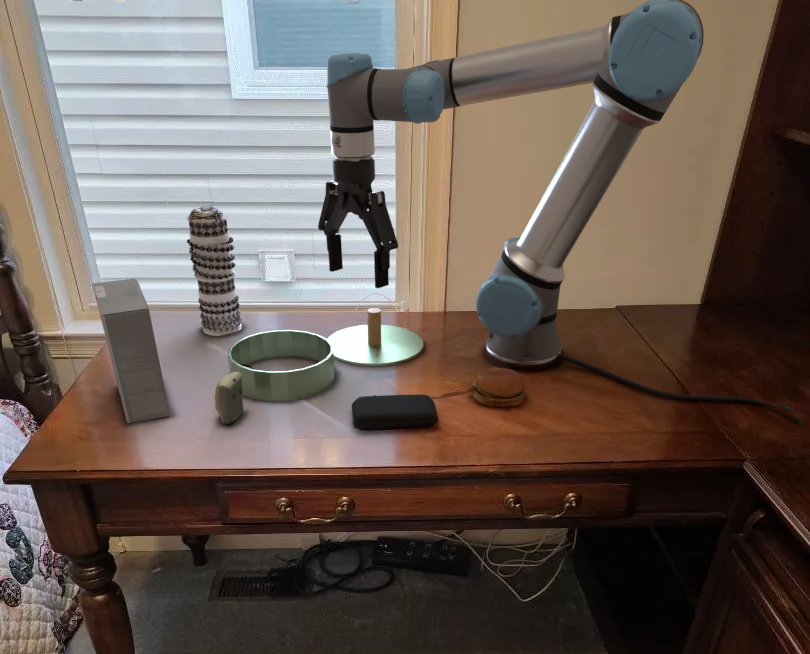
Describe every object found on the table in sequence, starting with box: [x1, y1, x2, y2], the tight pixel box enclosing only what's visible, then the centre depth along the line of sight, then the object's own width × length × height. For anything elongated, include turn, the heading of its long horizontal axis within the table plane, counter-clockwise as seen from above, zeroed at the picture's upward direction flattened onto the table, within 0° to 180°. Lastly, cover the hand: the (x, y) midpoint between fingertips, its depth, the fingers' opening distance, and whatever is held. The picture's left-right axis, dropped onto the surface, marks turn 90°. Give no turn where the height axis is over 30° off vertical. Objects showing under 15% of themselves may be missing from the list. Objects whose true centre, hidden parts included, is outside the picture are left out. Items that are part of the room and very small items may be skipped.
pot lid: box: [327, 307, 424, 367], centre depth 155 cm, size 20×20×8 cm
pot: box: [227, 329, 336, 403], centre depth 144 cm, size 20×20×6 cm
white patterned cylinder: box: [186, 205, 243, 337], centre depth 158 cm, size 9×9×25 cm
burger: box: [472, 367, 526, 408], centre depth 138 cm, size 10×9×5 cm
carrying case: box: [351, 393, 439, 432], centre depth 132 cm, size 11×3×15 cm
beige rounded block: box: [214, 372, 244, 427], centre depth 129 cm, size 6×5×8 cm
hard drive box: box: [92, 278, 171, 424], centre depth 131 cm, size 16×8×20 cm, turn 23°
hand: (358, 278), depth 144 cm, fingers open, 13 cm apart
